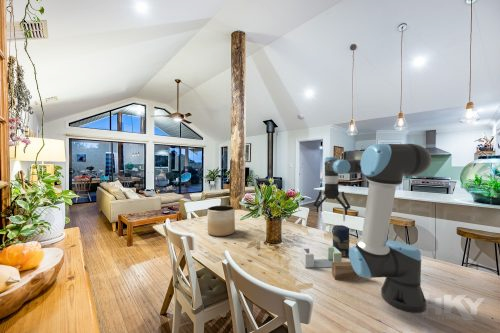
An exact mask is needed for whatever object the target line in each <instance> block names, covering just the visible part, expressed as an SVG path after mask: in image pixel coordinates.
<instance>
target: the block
mask: <svg viewBox="0 0 500 333" xmlns="http://www.w3.org/2000/svg"><path fill="white" fill-rule="evenodd" d="M331 276H332V278H333V279H334V280H335V281H336V280H338V281H339V280H340V281H341V280H342V281H343V280H344V281H345V280H360V279H361V277H360V276H359V275H357V274H356V272H355V271H354V269H353V267H352V265H351V262H350V261H342V262H332V268H331Z"/></svg>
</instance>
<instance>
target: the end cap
mask: <svg viewBox="0 0 500 333" xmlns="http://www.w3.org/2000/svg"><path fill="white" fill-rule="evenodd" d="M326 248H327V250H326V251H327V254H326V255H327V257H326V259H328V260H333V262H343V260H342V258H343V256H342V253H341V252H340V251H339V250H338V249H336V248H335V247H333V246H327V247H326Z"/></svg>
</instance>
